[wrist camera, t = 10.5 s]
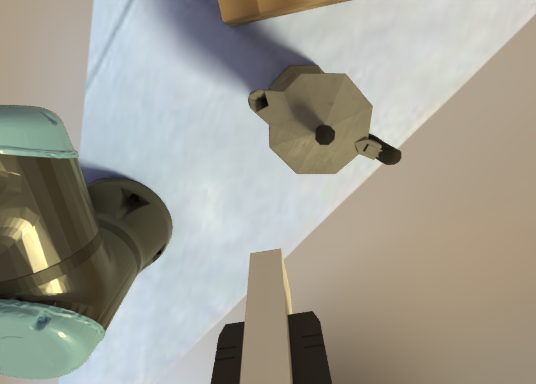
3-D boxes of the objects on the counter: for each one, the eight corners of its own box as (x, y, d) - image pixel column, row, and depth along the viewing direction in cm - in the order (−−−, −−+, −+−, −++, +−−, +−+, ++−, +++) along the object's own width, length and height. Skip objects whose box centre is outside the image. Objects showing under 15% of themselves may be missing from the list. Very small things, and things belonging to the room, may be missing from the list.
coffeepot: (242, 114, 41) (225, 158, 24) (269, 42, 37) (270, 37, 21) (343, 156, 43) (389, 221, 27) (378, 92, 40) (456, 123, 23)
